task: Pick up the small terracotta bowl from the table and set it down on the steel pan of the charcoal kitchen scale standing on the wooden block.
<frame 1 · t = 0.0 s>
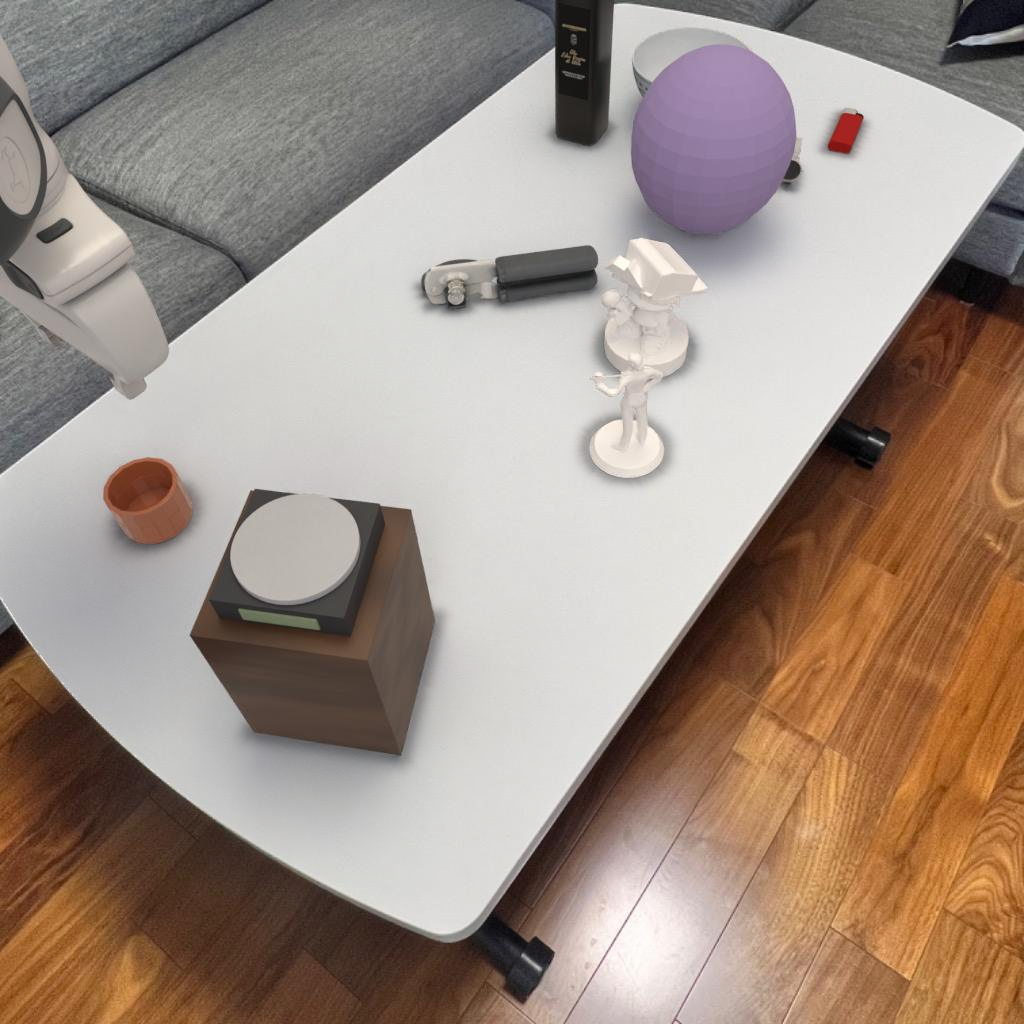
hand: (94, 364, 72), 19 cm above the table, tool pointing down, fingers open, 8 cm apart
figurine: (626, 450, 89), on the table
chinaware: (686, 117, 122), on the table
purple ovoid: (699, 224, 109), on the table
wine bottle: (581, 133, 120), on the table
wooden block: (347, 674, 76), on the table
character figurine: (649, 348, 97), on the table
scale: (304, 569, 63), resting on wooden block
bowl: (157, 515, 87), on the table
can opener: (509, 290, 103), on the table
lighter: (844, 135, 118), on the table
wristwatch: (787, 179, 113), on the table
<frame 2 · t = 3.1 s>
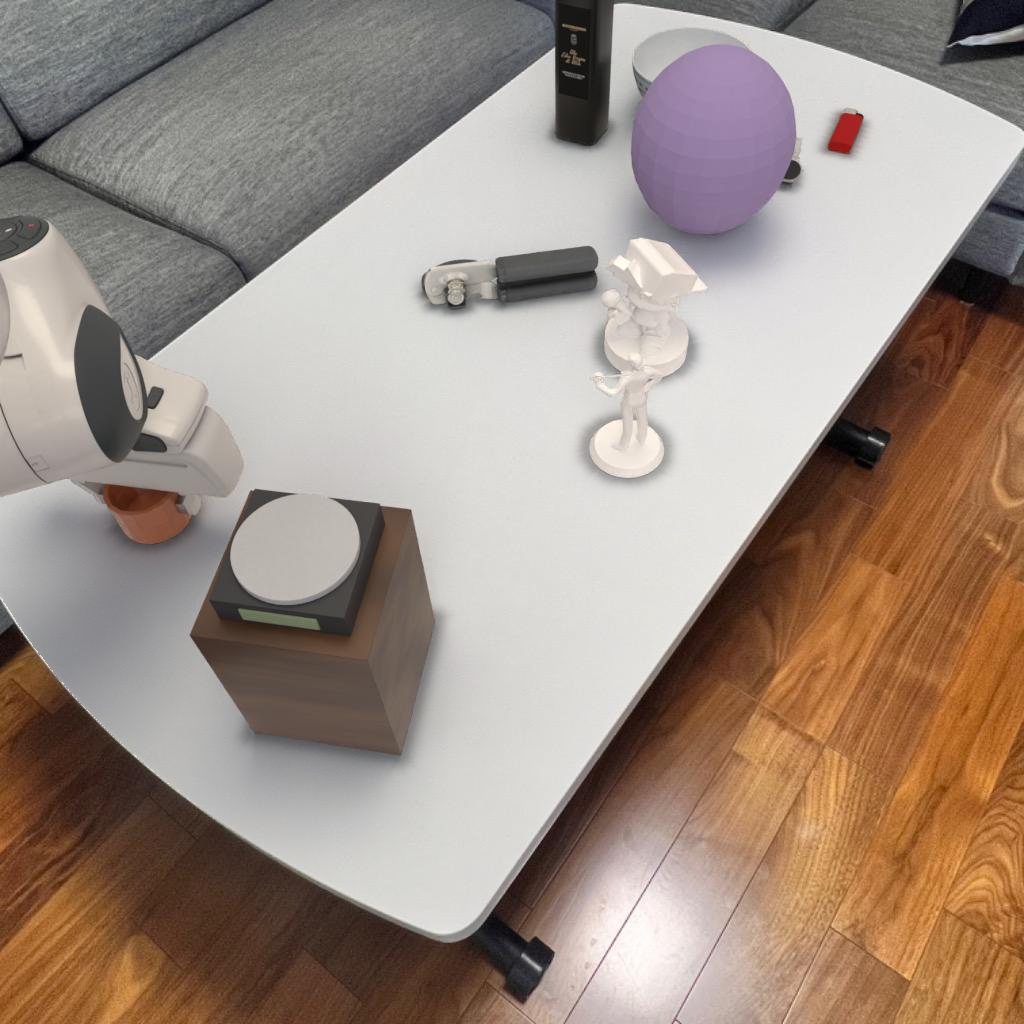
hand: (151, 503, 85), 2 cm above the table, tool pointing down, fingers closed on bowl, 6 cm apart
bowl: (157, 515, 87), on the table, touching gripper
everything else where it was.
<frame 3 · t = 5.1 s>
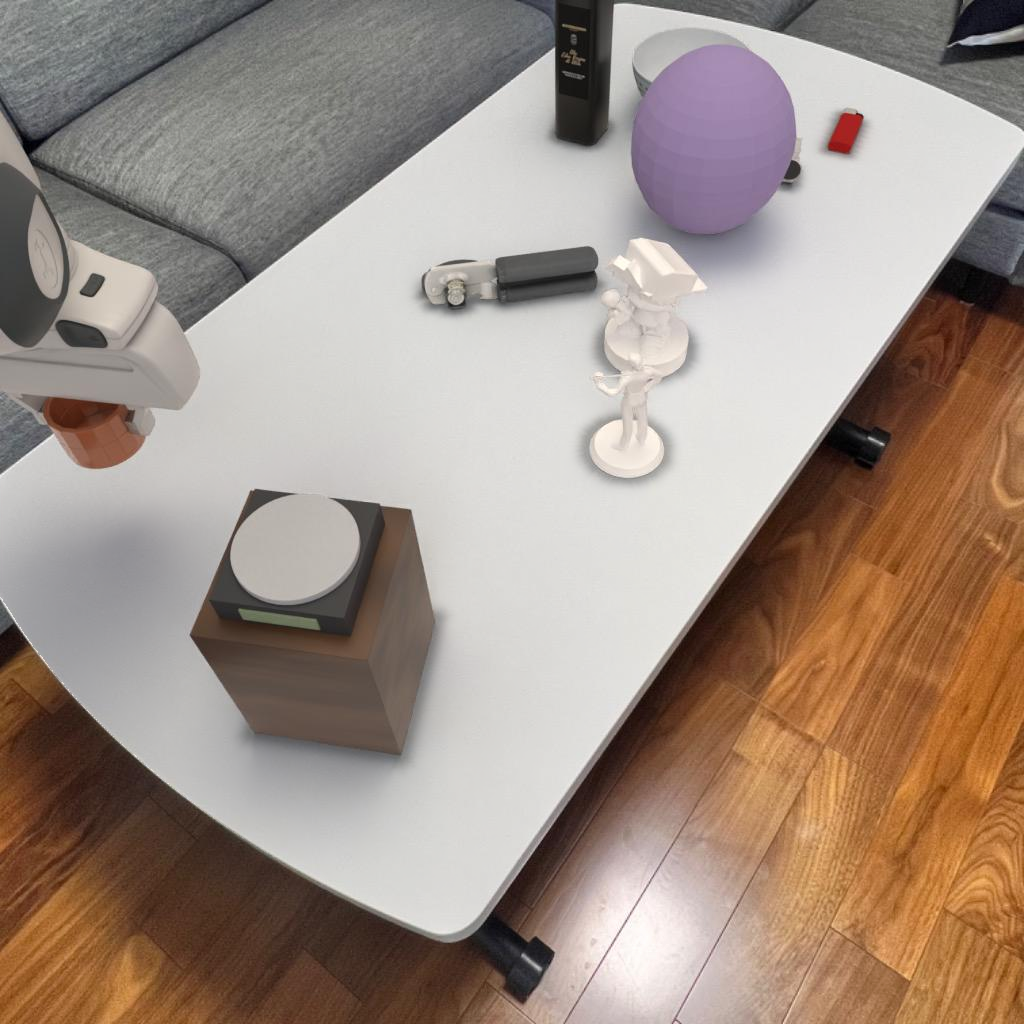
hand: (99, 424, 76), 13 cm above the table, tool pointing down, fingers closed on bowl, 6 cm apart
bowl: (107, 438, 77), point 11 cm above the table, touching gripper
everything else where it was.
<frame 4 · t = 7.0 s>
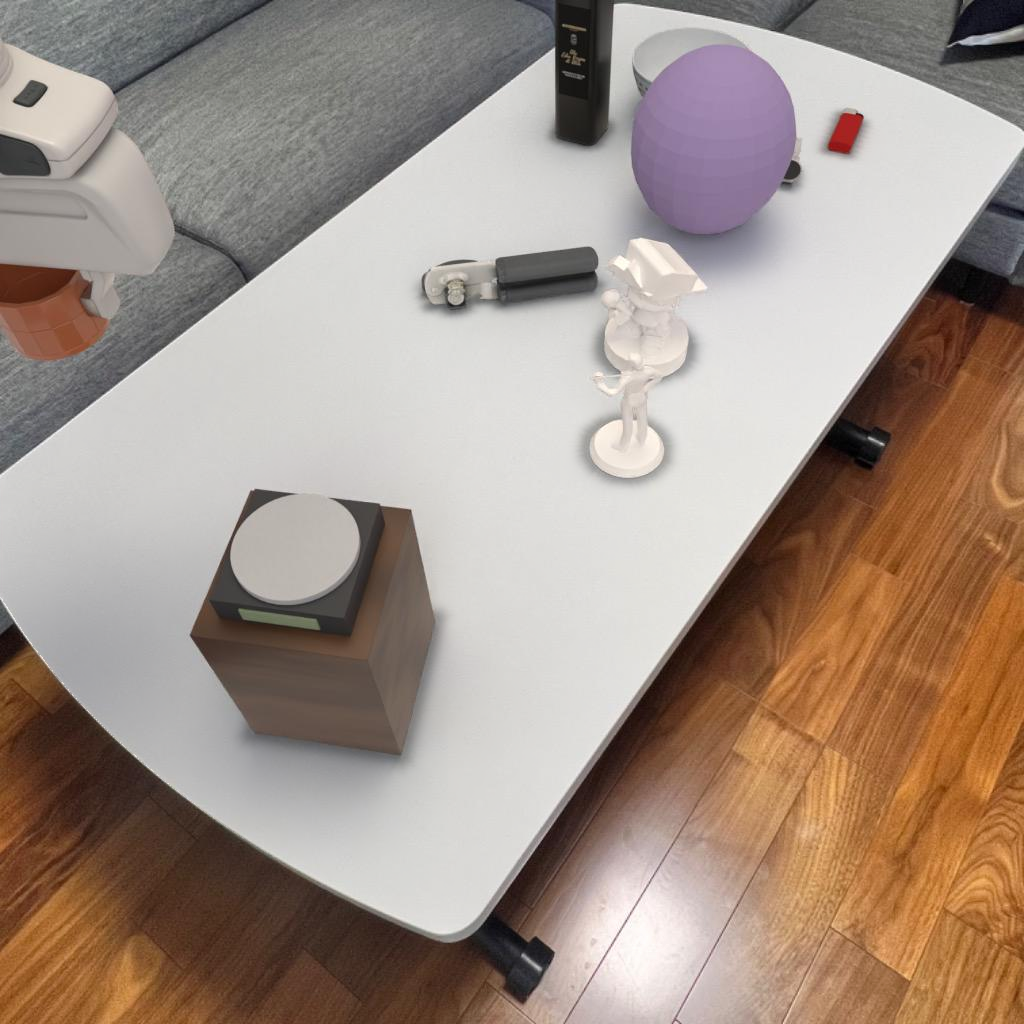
hand: (50, 307, 61), 28 cm above the table, tool pointing down, fingers closed on bowl, 6 cm apart
bowl: (61, 327, 63), point 27 cm above the table, touching gripper
everything else where it was.
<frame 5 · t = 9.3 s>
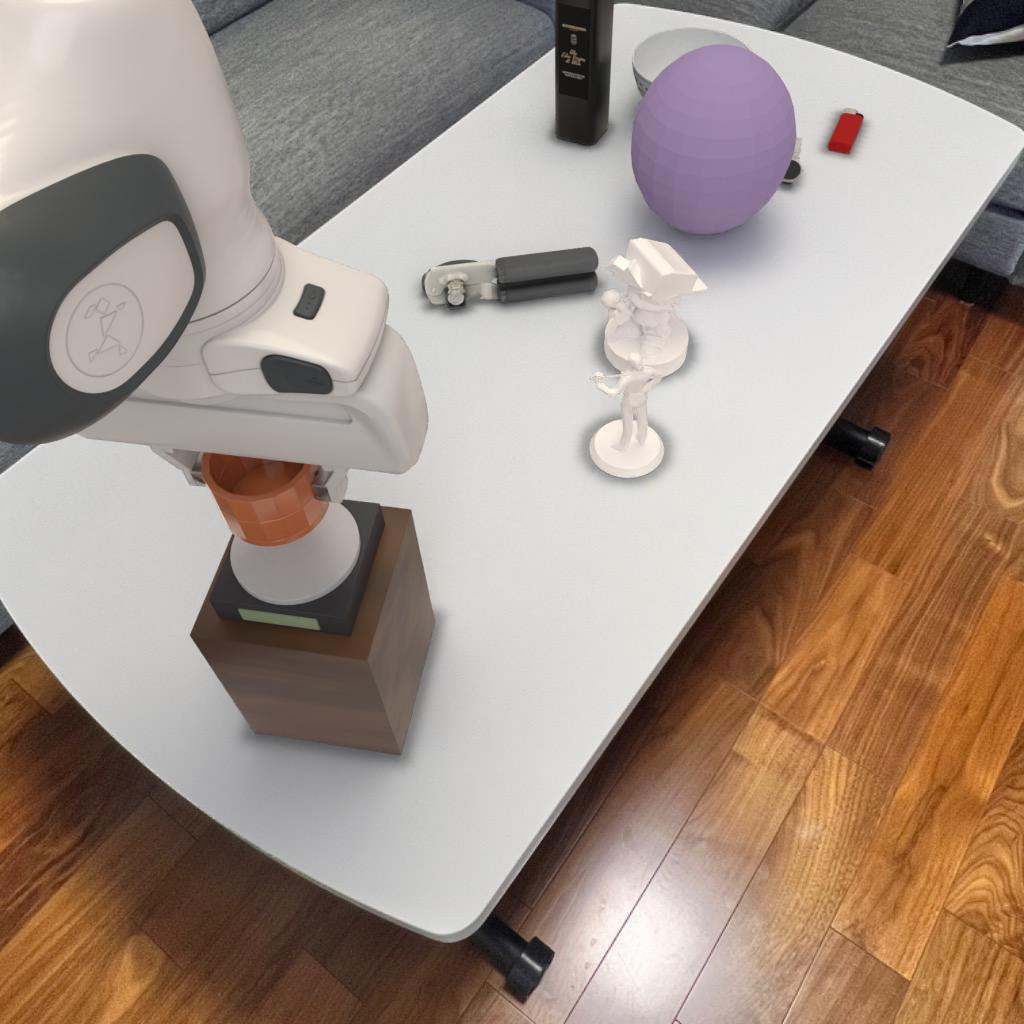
hand: (270, 485, 56), 25 cm above the table, tool pointing down, fingers closed on bowl, 6 cm apart
bowl: (277, 502, 57), point 24 cm above the table, touching gripper
everything else where it was.
when the fingers open (21 cm above the table, at t = 11.1 s): bowl stays where it is, resting on scale.
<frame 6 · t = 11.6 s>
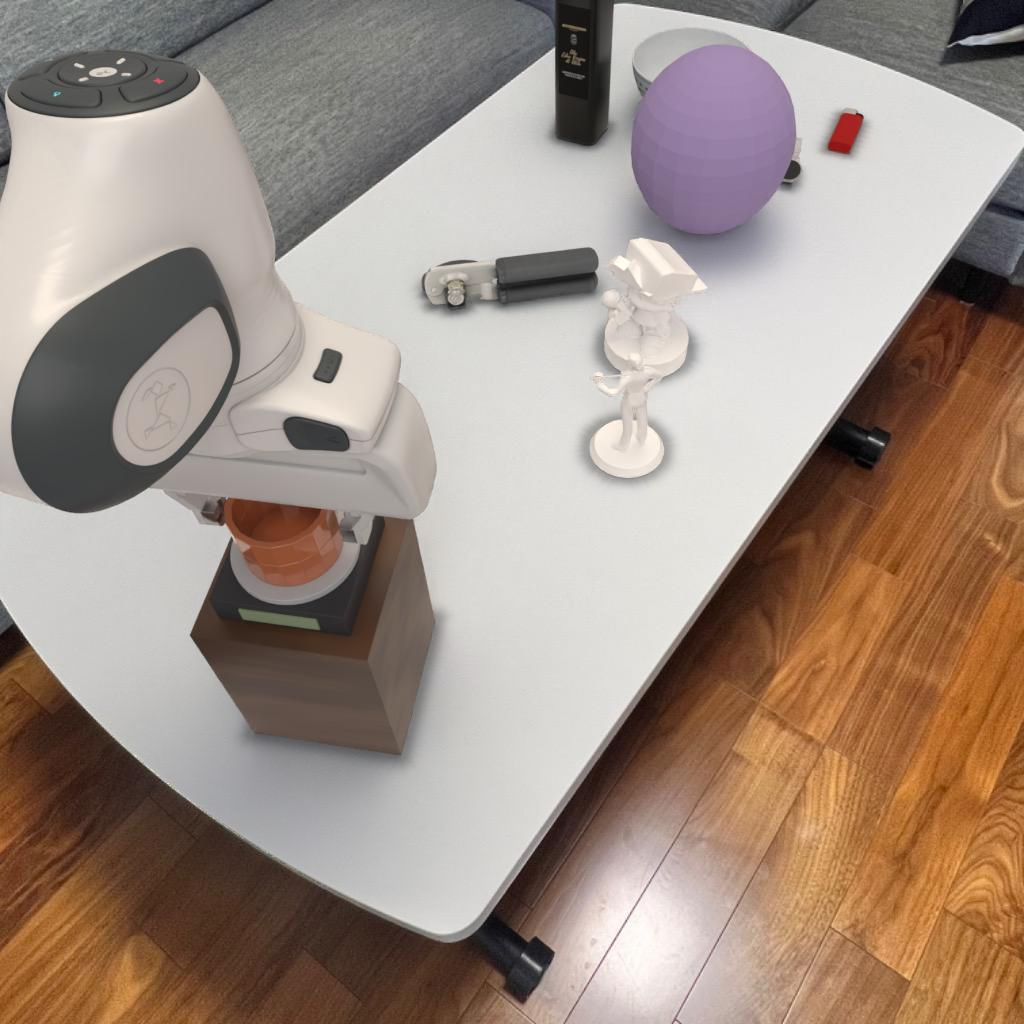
hand: (286, 525, 59), 21 cm above the table, tool pointing down, fingers open, 8 cm apart
bowl: (294, 544, 61), point 19 cm above the table, touching scale
everything else where it was.
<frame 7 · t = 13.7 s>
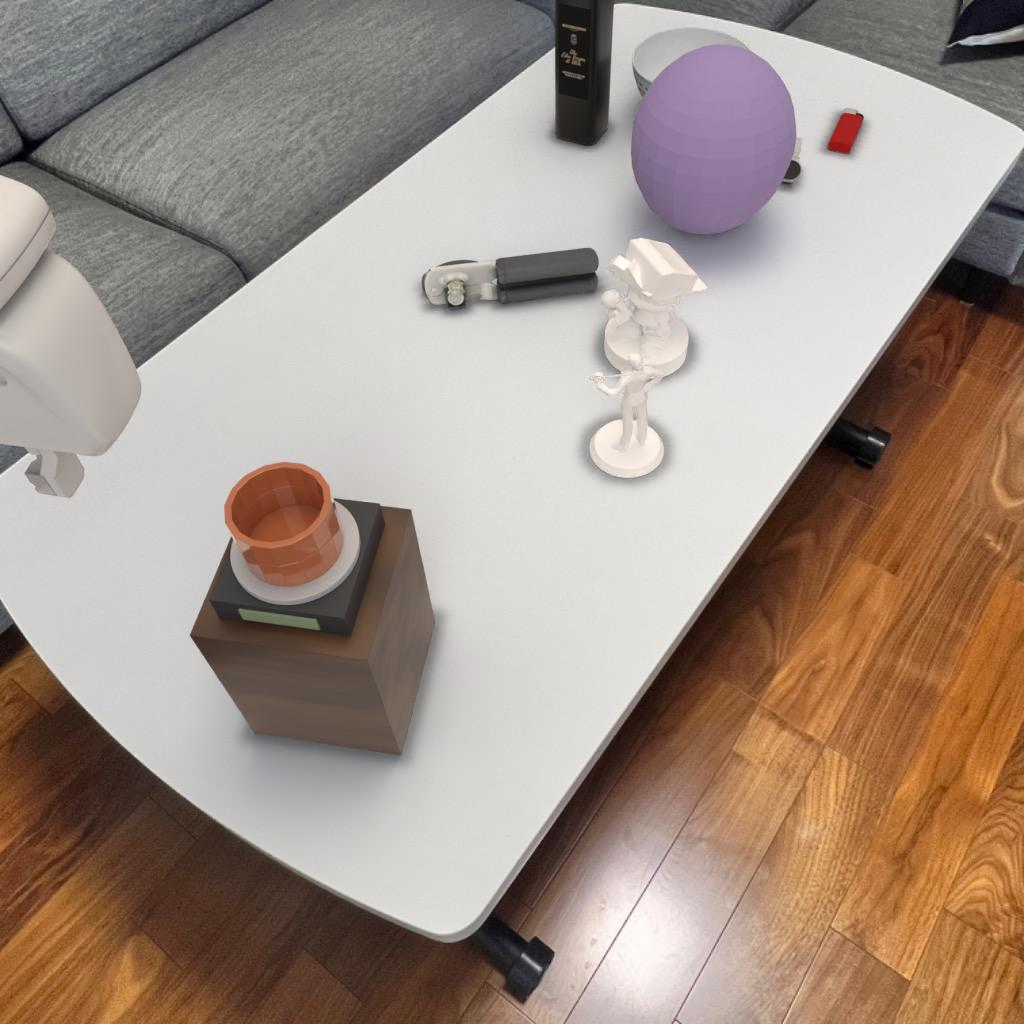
nothing on the table moved.
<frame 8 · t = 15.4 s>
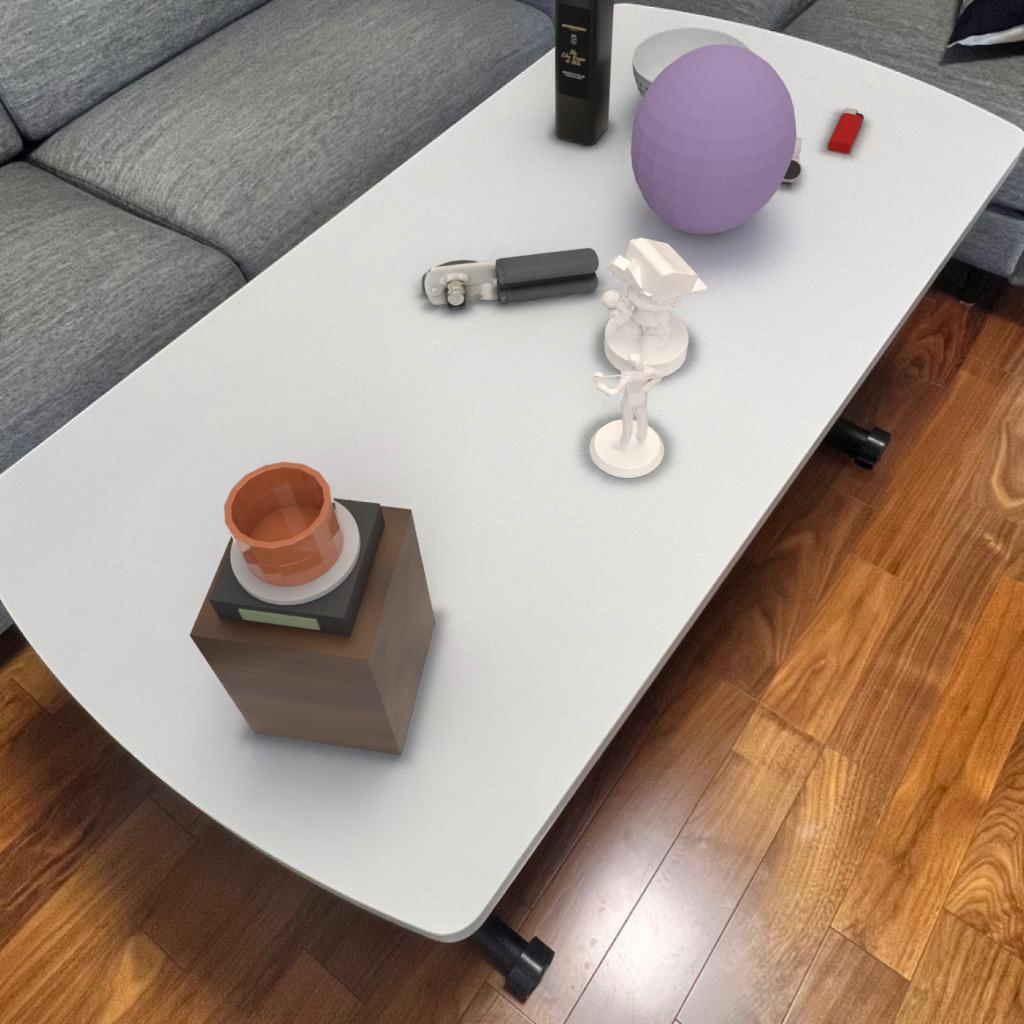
nothing on the table moved.
at the end: bowl 0.1 cm off-centre on the scale, point 3.0 cm above the scale's base; bowl tilted 0°; bowl touching scale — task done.
